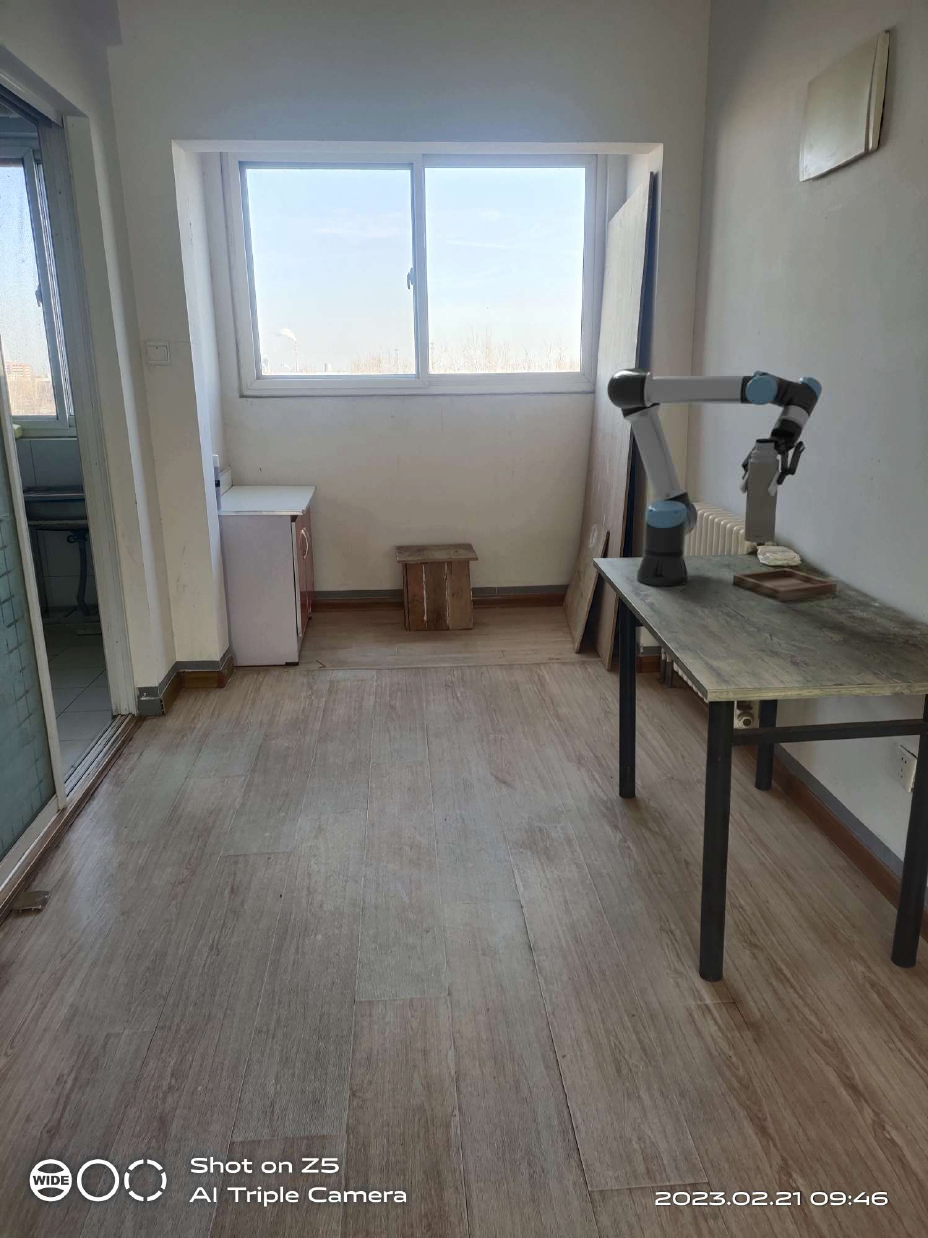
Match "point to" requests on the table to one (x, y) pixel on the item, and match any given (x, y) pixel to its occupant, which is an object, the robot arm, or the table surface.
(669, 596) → the table surface
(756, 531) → the thermos bottle
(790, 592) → the walnut tray
